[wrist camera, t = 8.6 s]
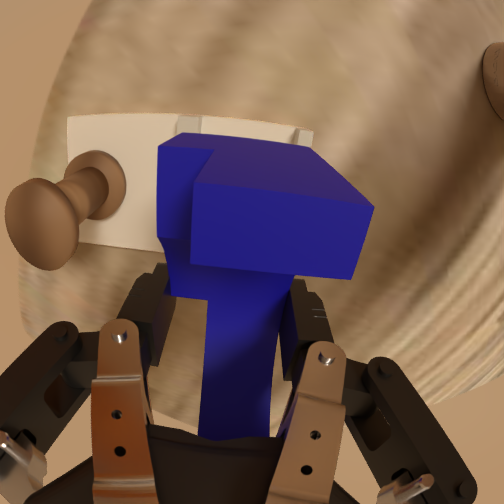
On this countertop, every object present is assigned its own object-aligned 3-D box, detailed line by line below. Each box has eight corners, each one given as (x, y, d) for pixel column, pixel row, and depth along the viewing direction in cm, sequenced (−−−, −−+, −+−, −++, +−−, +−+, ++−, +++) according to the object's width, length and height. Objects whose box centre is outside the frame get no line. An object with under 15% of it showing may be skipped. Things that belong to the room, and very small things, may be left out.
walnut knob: (126, 150, 21) (65, 184, 13) (127, 218, 24) (79, 276, 16) (67, 150, 20) (-2, 183, 13) (72, 213, 23) (15, 264, 16)
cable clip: (182, 132, 10) (107, 176, 4) (308, 146, 10) (374, 207, 5) (181, 361, 15) (163, 456, 10) (260, 369, 16) (264, 465, 11)
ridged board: (307, 128, 21) (313, 132, 19) (281, 259, 27) (284, 275, 25) (74, 115, 20) (57, 119, 18) (81, 235, 26) (69, 249, 24)
